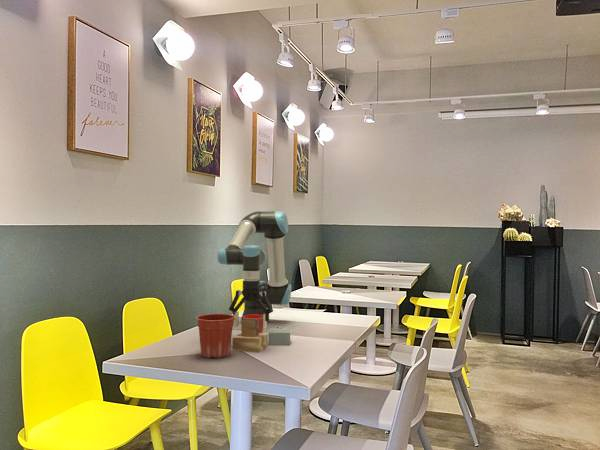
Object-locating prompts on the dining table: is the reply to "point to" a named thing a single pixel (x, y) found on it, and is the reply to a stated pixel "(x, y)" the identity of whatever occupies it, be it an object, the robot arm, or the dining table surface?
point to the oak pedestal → (250, 343)
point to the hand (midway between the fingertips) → (250, 327)
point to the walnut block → (249, 327)
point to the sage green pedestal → (279, 336)
